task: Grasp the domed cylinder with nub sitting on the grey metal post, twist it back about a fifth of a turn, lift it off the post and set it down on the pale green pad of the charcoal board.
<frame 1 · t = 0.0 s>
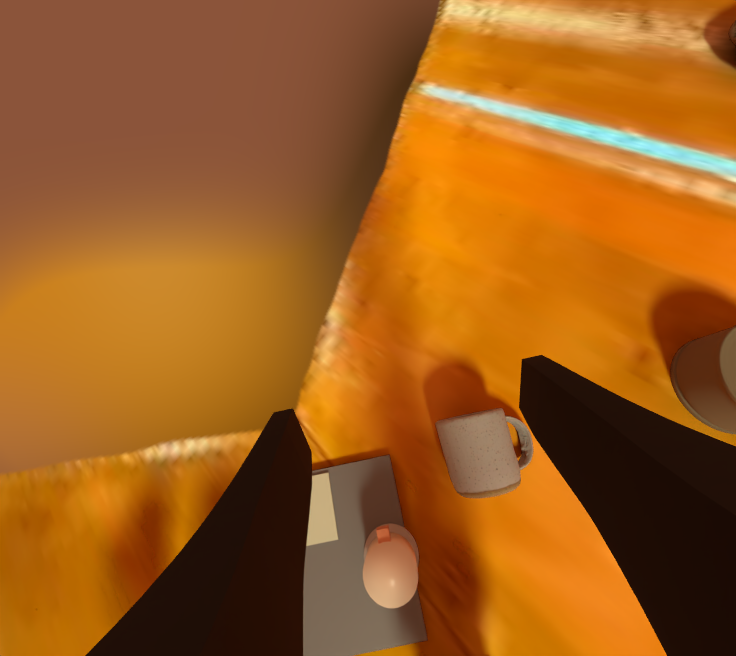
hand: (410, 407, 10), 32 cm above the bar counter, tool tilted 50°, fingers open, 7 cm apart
domed cylinder with nub: (390, 560, 34), point 3 cm above the bar counter, touching board
board: (337, 552, 37), on the bar counter
ceramic mug: (480, 444, 40), on the bar counter
can: (721, 384, 40), on the bar counter
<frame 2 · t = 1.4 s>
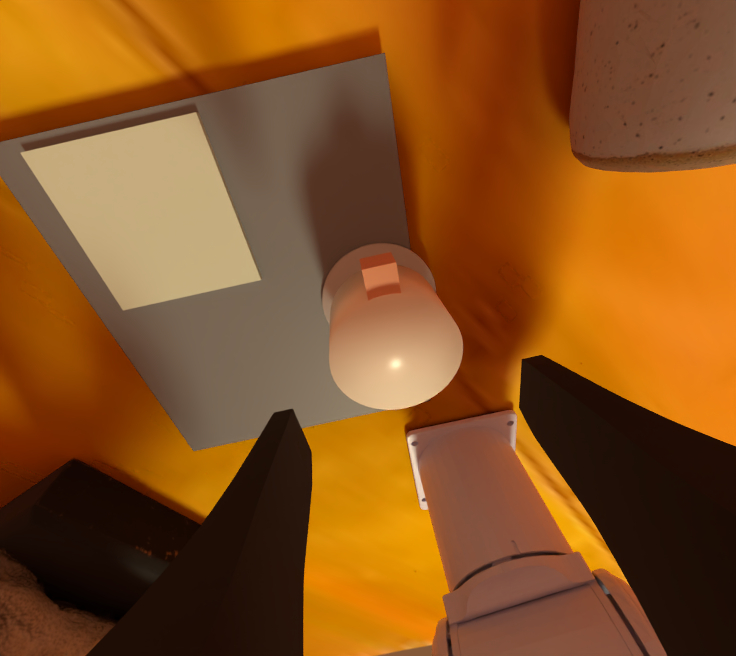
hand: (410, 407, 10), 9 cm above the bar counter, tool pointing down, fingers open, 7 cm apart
domed cylinder with nub: (384, 316, 16), point 3 cm above the bar counter, touching board
board: (265, 299, 18), on the bar counter
ceramic mug: (652, 27, 14), on the bar counter
driftwood sculpture: (154, 530, 27), on the bar counter
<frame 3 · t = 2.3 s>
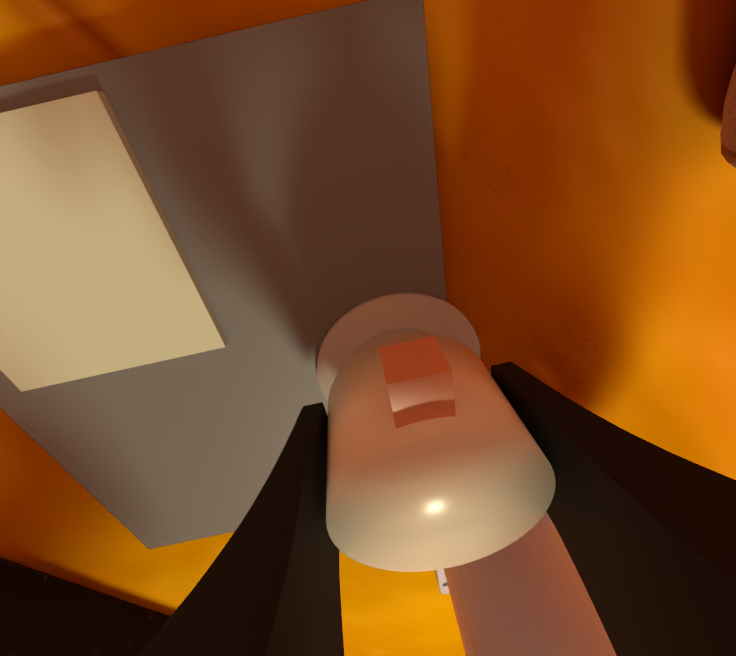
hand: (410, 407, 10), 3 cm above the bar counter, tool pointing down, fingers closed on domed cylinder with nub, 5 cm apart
domed cylinder with nub: (409, 403, 11), point 3 cm above the bar counter, touching board, gripper
board: (237, 365, 13), on the bar counter
driftwood sculpture: (112, 622, 22), on the bar counter
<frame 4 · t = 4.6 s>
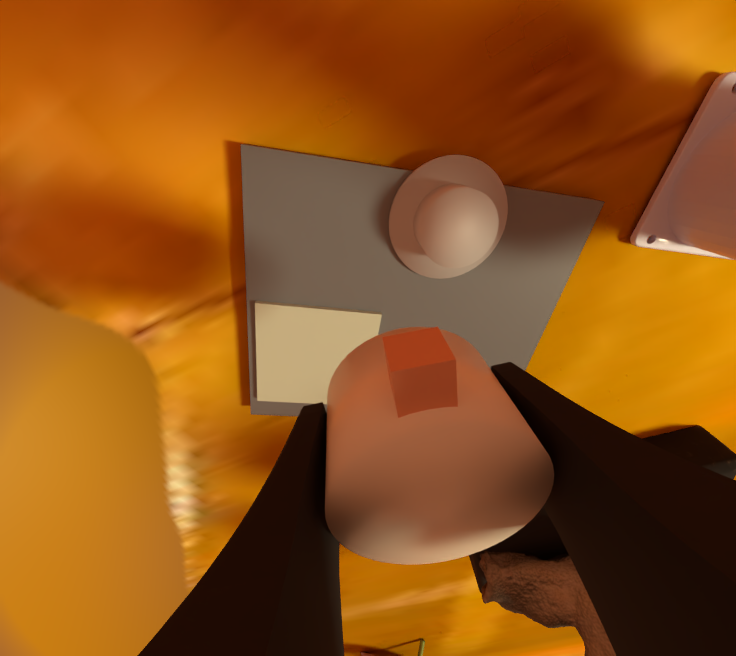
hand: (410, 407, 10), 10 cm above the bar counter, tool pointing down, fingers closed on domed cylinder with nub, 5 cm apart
domed cylinder with nub: (408, 397, 11), point 10 cm above the bar counter, touching gripper
board: (402, 315, 20), on the bar counter
driftwood sculpture: (554, 481, 31), on the bar counter
water lily: (395, 647, 49), on the bar counter
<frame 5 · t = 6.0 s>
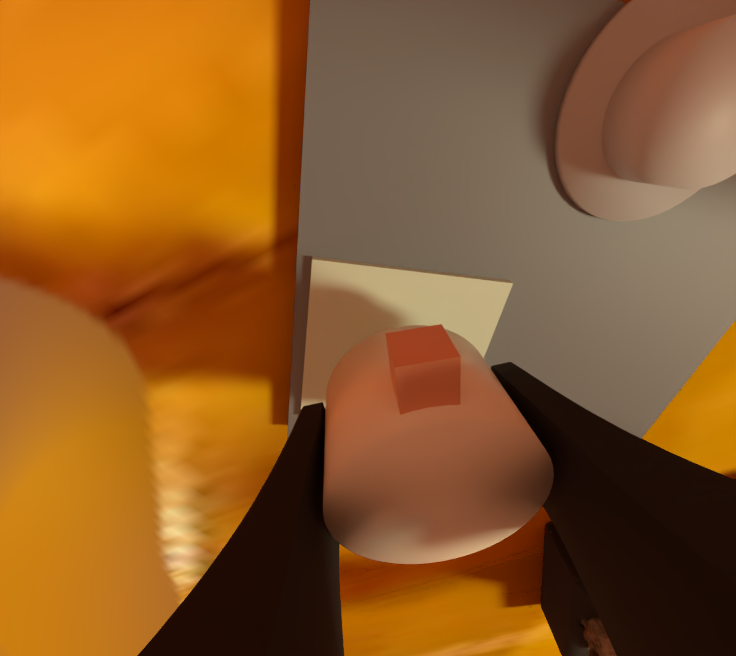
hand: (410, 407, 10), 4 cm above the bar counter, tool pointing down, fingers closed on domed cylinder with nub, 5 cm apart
domed cylinder with nub: (407, 396, 11), point 4 cm above the bar counter, touching gripper
board: (530, 288, 13), on the bar counter
driftwood sculpture: (667, 517, 24), on the bar counter
when the fingers open (2 cm above the bar counter, at t = 6.9 s): domed cylinder with nub stays where it is, resting on board.
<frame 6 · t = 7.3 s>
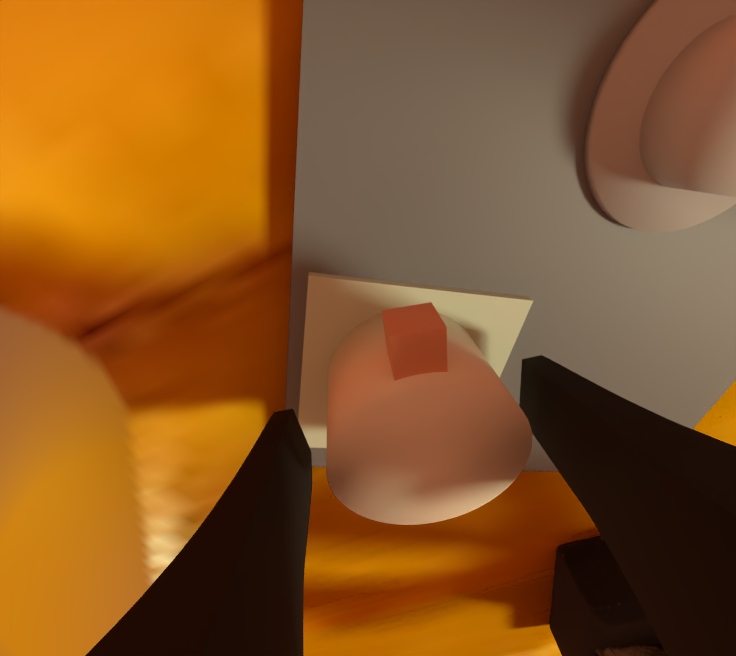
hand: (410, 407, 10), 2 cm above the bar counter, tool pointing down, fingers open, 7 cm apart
domed cylinder with nub: (403, 376, 11), point 1 cm above the bar counter, touching board
board: (549, 304, 12), on the bar counter
driftwood sculpture: (684, 537, 23), on the bar counter
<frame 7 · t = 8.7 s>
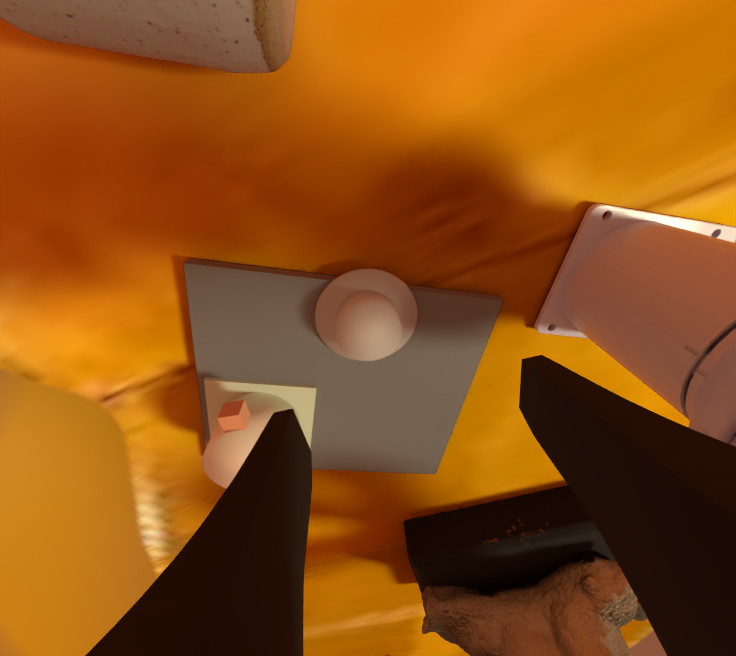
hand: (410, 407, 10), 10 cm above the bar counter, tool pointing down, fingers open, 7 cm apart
domed cylinder with nub: (261, 421, 23), point 1 cm above the bar counter, touching board
board: (338, 385, 23), on the bar counter
driftwood sculpture: (497, 518, 33), on the bar counter
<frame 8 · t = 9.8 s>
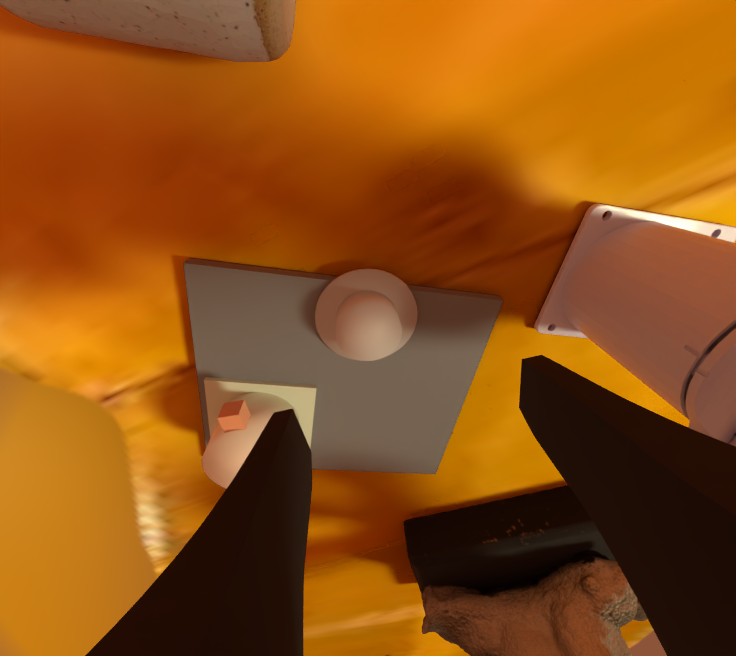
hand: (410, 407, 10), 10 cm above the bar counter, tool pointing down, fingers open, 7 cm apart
domed cylinder with nub: (261, 421, 23), point 1 cm above the bar counter, touching board
board: (338, 385, 23), on the bar counter
driftwood sculpture: (497, 518, 33), on the bar counter
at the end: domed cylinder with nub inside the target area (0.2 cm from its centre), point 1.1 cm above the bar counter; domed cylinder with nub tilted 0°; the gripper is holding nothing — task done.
